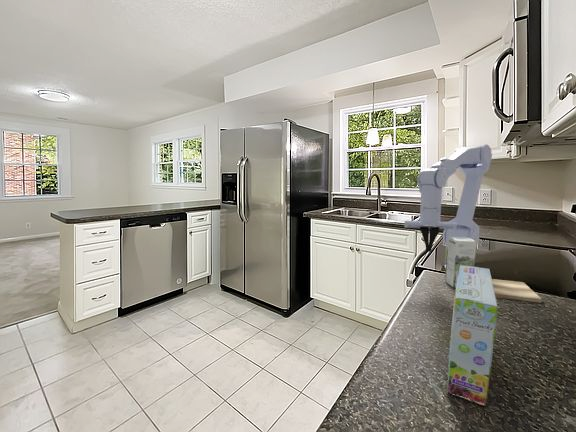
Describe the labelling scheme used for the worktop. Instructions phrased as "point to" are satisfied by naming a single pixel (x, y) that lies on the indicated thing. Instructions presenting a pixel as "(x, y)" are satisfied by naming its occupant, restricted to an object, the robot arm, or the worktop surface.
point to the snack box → (472, 334)
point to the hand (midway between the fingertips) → (428, 251)
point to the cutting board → (514, 291)
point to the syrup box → (458, 257)
